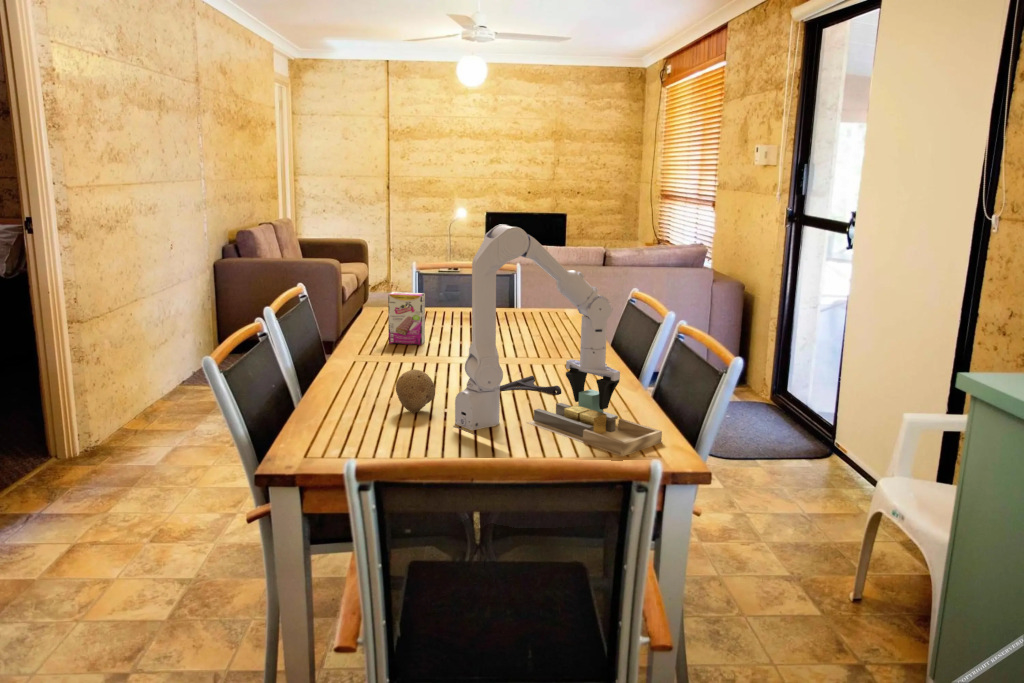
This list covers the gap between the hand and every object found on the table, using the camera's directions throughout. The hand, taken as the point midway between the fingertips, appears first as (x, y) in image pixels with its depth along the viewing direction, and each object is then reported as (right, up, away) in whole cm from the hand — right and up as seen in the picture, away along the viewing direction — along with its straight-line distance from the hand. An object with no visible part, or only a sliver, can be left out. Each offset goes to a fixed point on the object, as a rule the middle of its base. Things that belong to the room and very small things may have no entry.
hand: (591, 404), depth 177 cm
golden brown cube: (-4, -4, -9) cm, 11 cm away
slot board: (-1, -6, -12) cm, 13 cm away
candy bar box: (-52, +14, +74) cm, 92 cm away
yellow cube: (-1, -5, -12) cm, 13 cm away
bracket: (-12, +1, +23) cm, 26 cm away
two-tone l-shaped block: (+1, -3, -1) cm, 4 cm away
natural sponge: (-40, -2, +3) cm, 40 cm away
